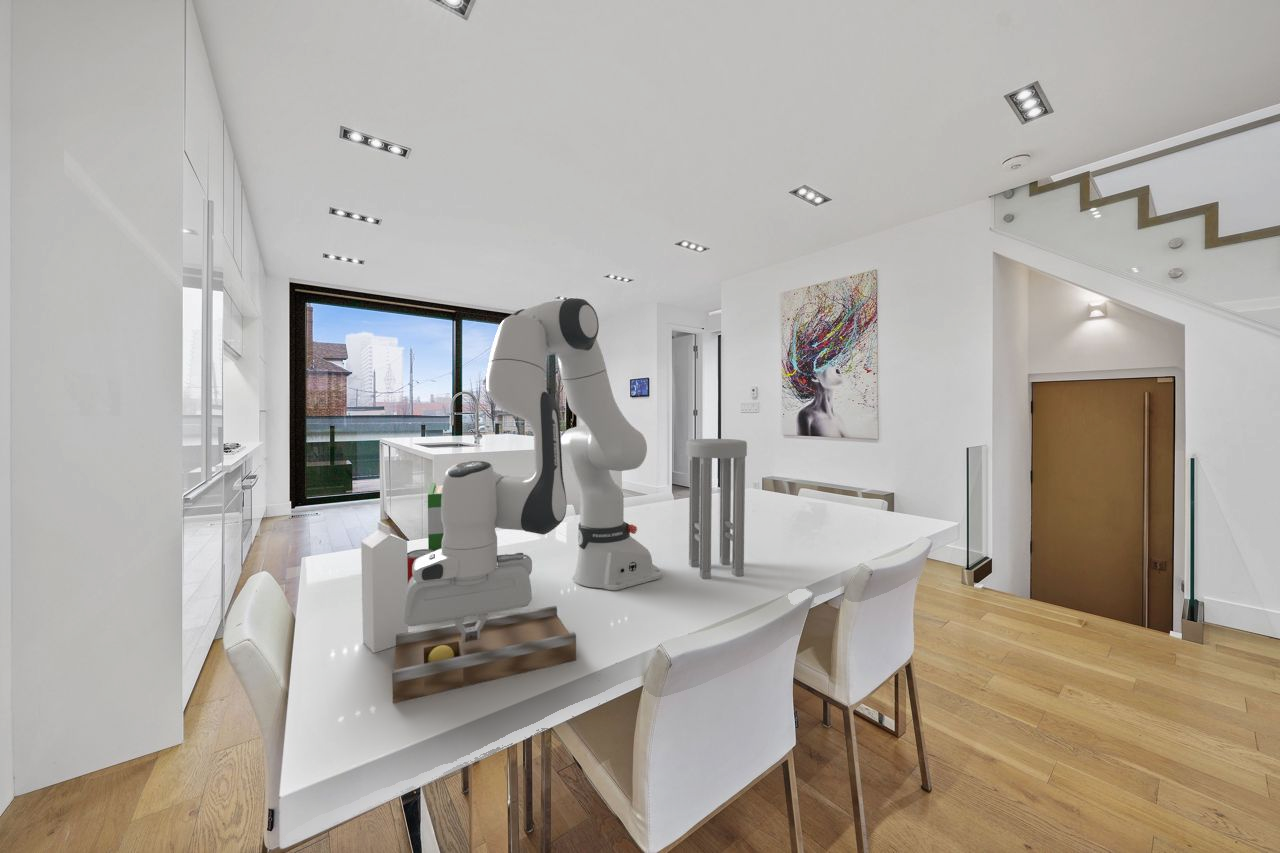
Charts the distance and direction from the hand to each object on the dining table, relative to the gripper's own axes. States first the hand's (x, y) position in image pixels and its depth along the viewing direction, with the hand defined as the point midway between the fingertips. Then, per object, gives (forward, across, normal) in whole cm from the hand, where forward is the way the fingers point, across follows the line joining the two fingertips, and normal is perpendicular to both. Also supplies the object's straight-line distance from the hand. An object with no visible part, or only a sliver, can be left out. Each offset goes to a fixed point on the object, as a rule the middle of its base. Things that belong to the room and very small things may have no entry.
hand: (470, 639), depth 80 cm
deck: (+4, -2, 0) cm, 5 cm away
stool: (+4, -64, -22) cm, 68 cm away
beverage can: (+4, +8, -28) cm, 30 cm away
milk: (+4, +14, -14) cm, 20 cm away
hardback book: (+4, +2, -40) cm, 41 cm away
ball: (+2, +5, 0) cm, 5 cm away
